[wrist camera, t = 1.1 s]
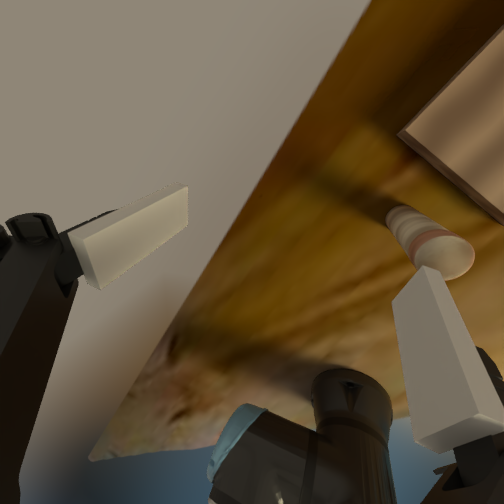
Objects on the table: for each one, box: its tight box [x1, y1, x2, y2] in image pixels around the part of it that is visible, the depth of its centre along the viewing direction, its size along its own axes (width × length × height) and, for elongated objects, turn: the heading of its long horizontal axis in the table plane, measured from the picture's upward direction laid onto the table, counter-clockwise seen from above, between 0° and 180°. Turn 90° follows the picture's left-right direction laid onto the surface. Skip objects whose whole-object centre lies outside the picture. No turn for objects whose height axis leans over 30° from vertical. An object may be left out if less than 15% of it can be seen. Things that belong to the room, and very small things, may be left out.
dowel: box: [385, 205, 475, 280], centre depth 26 cm, size 4×4×16 cm
